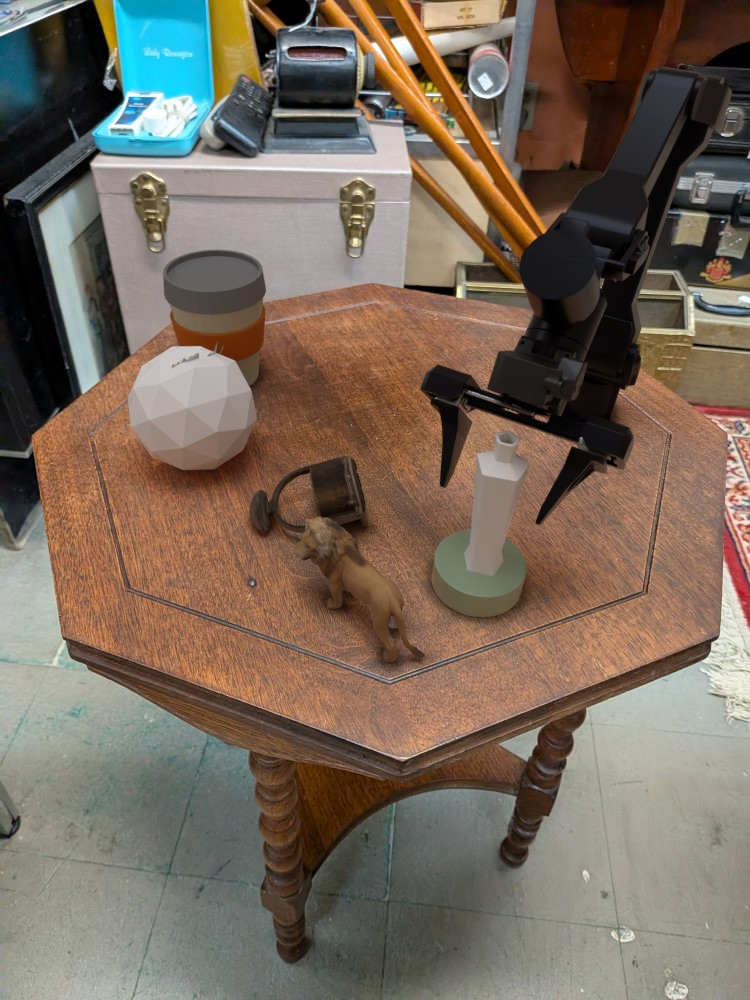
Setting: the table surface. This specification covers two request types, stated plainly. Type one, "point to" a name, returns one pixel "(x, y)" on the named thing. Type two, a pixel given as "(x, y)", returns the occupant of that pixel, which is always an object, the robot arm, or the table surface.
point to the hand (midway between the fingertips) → (488, 505)
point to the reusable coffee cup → (218, 304)
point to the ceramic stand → (476, 578)
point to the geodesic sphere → (192, 408)
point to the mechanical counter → (318, 495)
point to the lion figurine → (355, 579)
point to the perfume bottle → (494, 502)
